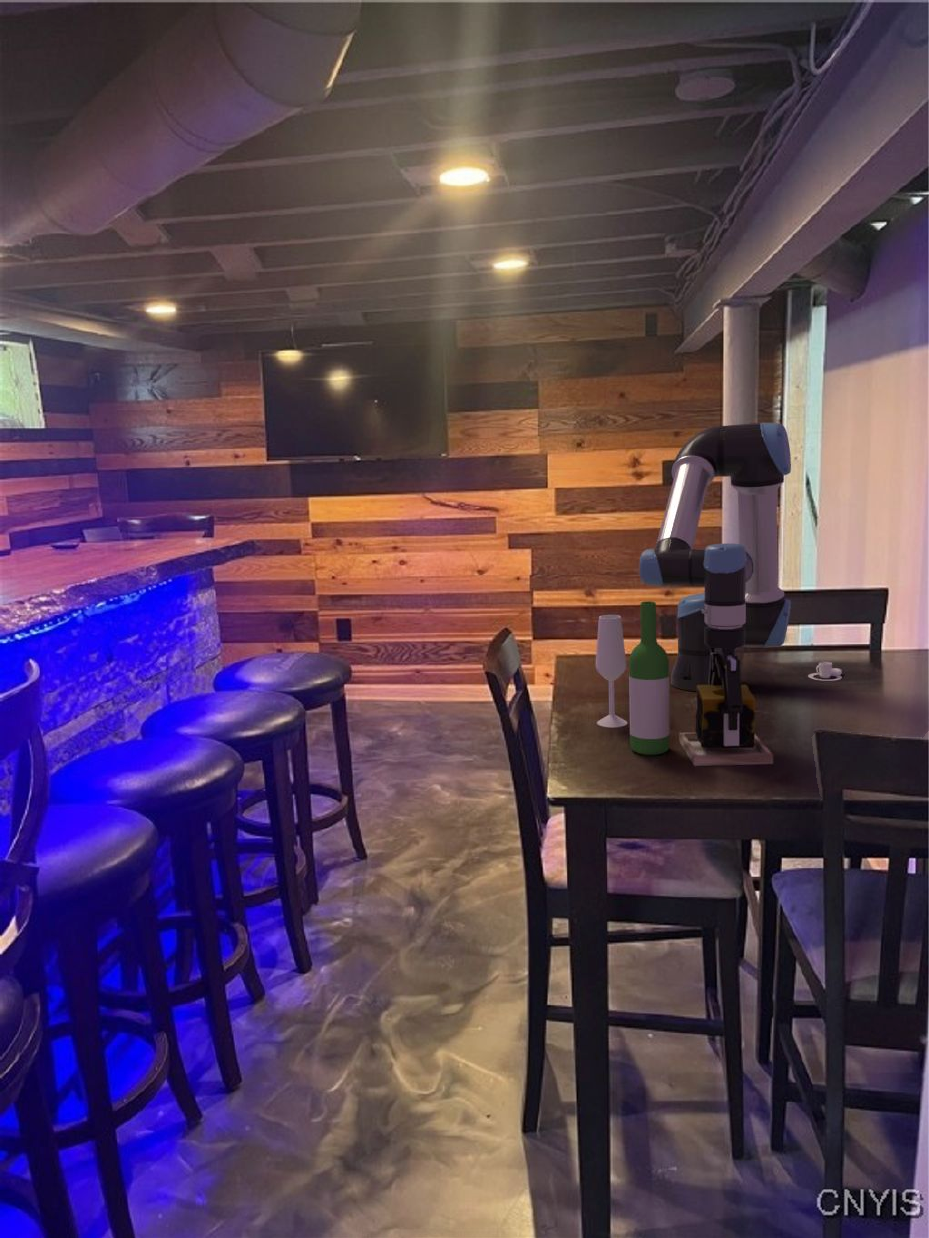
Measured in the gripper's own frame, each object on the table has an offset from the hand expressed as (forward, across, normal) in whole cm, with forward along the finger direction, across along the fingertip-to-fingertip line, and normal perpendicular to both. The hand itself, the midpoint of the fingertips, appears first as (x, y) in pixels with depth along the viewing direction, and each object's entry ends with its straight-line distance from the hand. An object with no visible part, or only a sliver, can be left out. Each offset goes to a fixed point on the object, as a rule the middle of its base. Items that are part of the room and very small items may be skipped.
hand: (724, 735), depth 166 cm
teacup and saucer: (+4, -52, +41) cm, 67 cm away
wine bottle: (+3, -2, -14) cm, 15 cm away
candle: (+1, 0, 0) cm, 1 cm away
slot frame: (+3, 0, 0) cm, 3 cm away
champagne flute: (+4, -21, -20) cm, 29 cm away
